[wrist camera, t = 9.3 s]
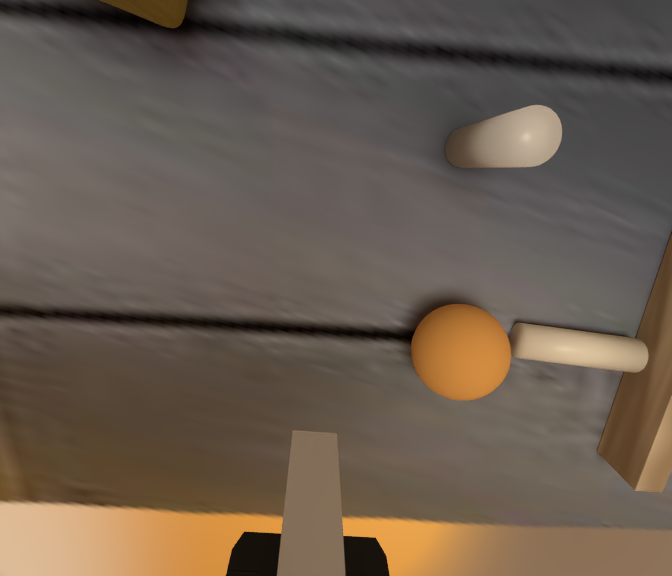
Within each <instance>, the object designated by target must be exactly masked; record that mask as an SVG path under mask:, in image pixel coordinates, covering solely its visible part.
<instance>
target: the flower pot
mask: <svg viewBox="0 0 672 576" xmlns="http://www.w3.org/2000/svg"><path fill="white" fill-rule="evenodd" d="M100 1H102V2H105V3H107V4H110V5H112V6H115V7H117V8H120V9H122V10H125V11H127V12H130V13H132V14H135V15H137V16H140V17H142V18H144V19H147V20H149V21H152V22H154V23H156V24H159V25H161V26H164V27H167V28H176V27H178V26H180V24H181V23H182V21H183V19H184V16H185V11H186V7H187V2H188V0H100Z"/></svg>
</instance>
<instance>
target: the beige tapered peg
mask: <svg viewBox="0 0 672 576" xmlns="http://www.w3.org/2000/svg"><path fill="white" fill-rule="evenodd" d="M561 138H562V126H561V122H560V120H559V118H558V116H557V114H556V113H555V112H554V111H553V110H551V109H550V108H548V107H546V106H542V105H532V106H528V107H525V108H522V109H519V110H515V111H512V112H509V113H506V114H503V115H500V116H496V117H493V118H490V119H487V120H484V121H481V122H477V123H474V124H471V125H468V126H465V127H461V128H459V129H456V130H455V131H453V132H452V133H451V134H450V135H449V137H448V138H447V140H446V143H445V155H446V158H447V160H448V161H449V163H450V164H451V165H453V166H455V167H457V168H495V167H532V166H538V165H540V164H542V163H544V162H546V161H547V160H549V159H550V158H551V157H552V156H553V155H554V153H555V152H556V151H557V149H558V147H559V145H560V142H561Z"/></svg>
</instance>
